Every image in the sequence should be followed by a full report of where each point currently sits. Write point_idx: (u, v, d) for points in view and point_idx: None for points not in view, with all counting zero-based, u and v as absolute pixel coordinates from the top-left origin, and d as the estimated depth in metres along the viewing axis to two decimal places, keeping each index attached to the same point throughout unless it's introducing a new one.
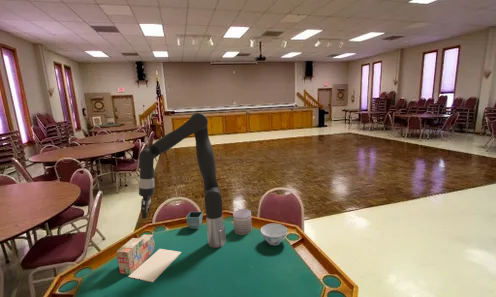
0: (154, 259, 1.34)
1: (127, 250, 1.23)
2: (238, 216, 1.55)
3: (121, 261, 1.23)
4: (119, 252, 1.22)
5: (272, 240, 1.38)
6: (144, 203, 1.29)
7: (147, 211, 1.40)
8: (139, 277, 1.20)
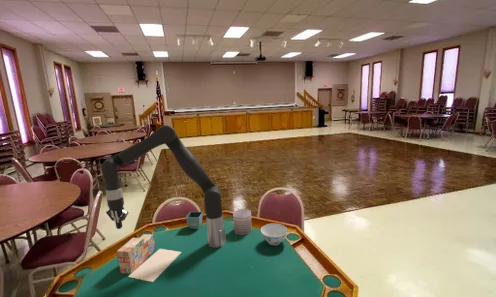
0: (154, 259, 1.34)
1: (128, 250, 1.23)
2: (238, 216, 1.55)
3: (122, 261, 1.23)
4: (120, 252, 1.22)
5: (272, 240, 1.38)
6: (126, 214, 1.31)
7: (119, 227, 1.34)
8: (139, 277, 1.20)
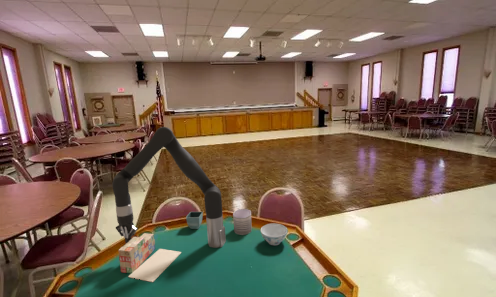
0: (154, 259, 1.34)
1: (129, 249, 1.23)
2: (238, 216, 1.55)
3: (123, 260, 1.23)
4: (121, 251, 1.23)
5: (272, 240, 1.38)
6: (136, 230, 1.31)
7: None
8: (139, 277, 1.20)
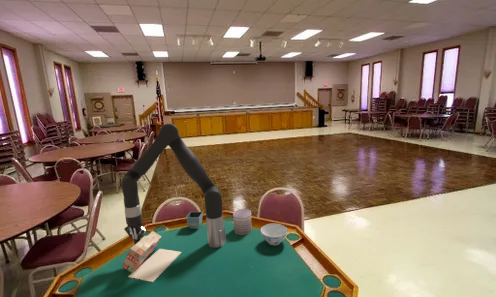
0: (154, 259, 1.34)
1: (140, 252, 1.22)
2: (238, 216, 1.55)
3: (129, 258, 1.22)
4: (132, 251, 1.21)
5: (272, 240, 1.38)
6: (145, 231, 1.30)
7: None
8: (139, 277, 1.20)
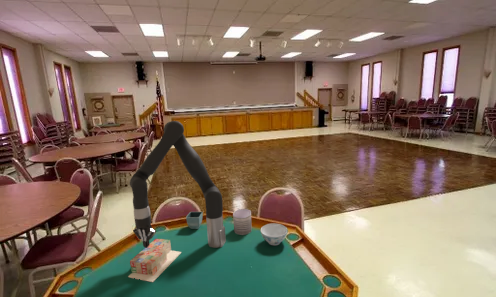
0: None
1: (154, 271, 1.22)
2: (238, 216, 1.55)
3: (142, 266, 1.22)
4: (151, 266, 1.20)
5: (272, 240, 1.38)
6: (154, 233, 1.28)
7: None
8: (139, 277, 1.20)
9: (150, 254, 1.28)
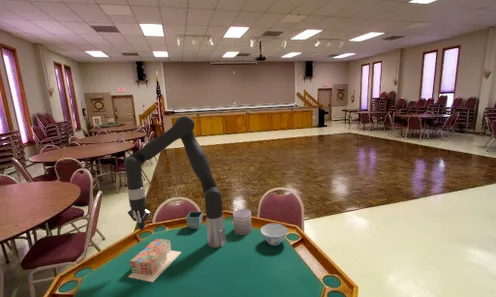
0: None
1: (154, 271, 1.22)
2: (238, 216, 1.55)
3: (142, 266, 1.22)
4: (151, 266, 1.20)
5: (272, 240, 1.38)
6: (149, 214, 1.26)
7: None
8: (139, 277, 1.20)
9: (150, 254, 1.28)
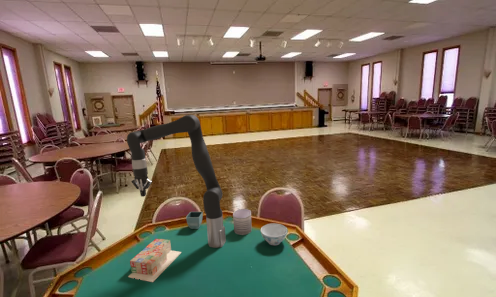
0: None
1: (154, 271, 1.22)
2: (238, 216, 1.55)
3: (142, 266, 1.22)
4: (151, 266, 1.20)
5: (272, 240, 1.38)
6: (150, 183, 1.44)
7: None
8: (139, 277, 1.20)
9: (150, 254, 1.28)
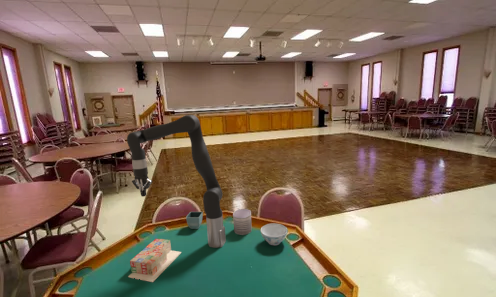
0: None
1: (154, 271, 1.22)
2: (238, 216, 1.55)
3: (142, 266, 1.22)
4: (151, 266, 1.20)
5: (272, 240, 1.38)
6: (150, 183, 1.44)
7: None
8: (139, 277, 1.20)
9: (150, 254, 1.28)
